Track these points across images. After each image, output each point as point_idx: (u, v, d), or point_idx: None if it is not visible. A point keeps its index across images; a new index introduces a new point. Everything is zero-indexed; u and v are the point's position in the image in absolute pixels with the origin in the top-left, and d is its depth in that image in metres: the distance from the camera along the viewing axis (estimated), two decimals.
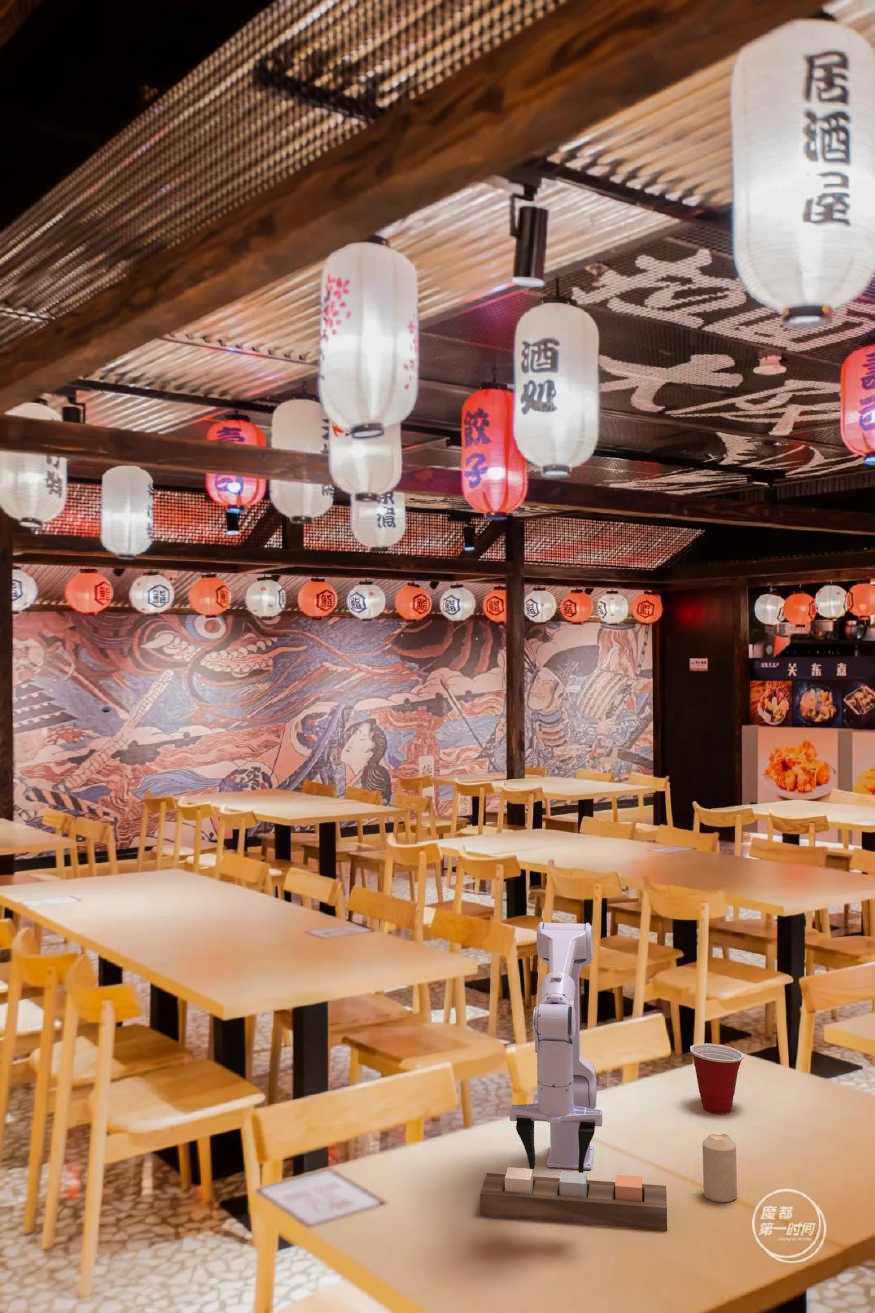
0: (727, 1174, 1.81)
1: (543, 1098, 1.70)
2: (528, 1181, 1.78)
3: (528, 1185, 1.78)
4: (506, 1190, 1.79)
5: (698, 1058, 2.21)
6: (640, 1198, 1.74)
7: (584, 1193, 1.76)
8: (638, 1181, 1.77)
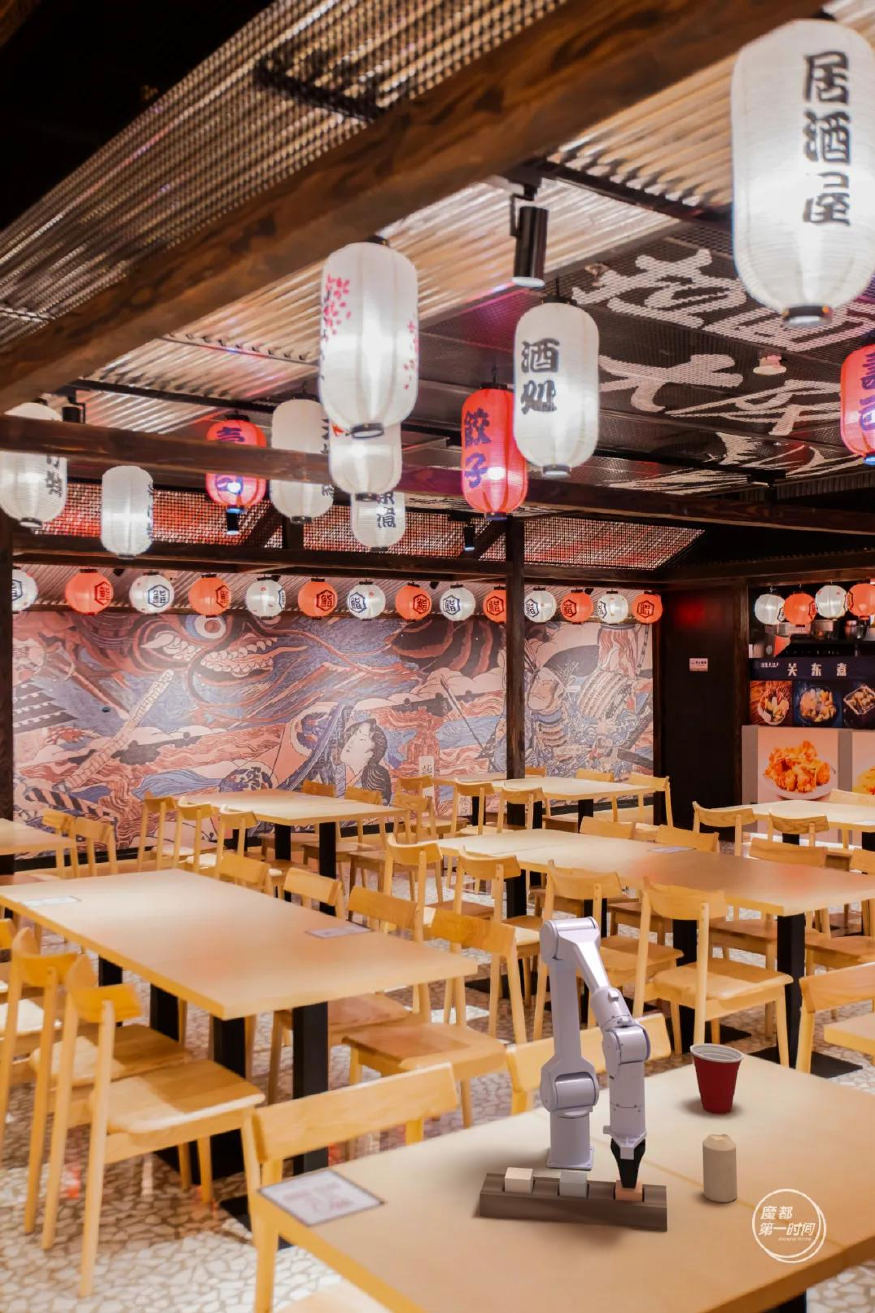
0: (727, 1174, 1.81)
1: None
2: (528, 1181, 1.78)
3: (528, 1185, 1.78)
4: (506, 1190, 1.79)
5: (698, 1058, 2.21)
6: None
7: (584, 1193, 1.76)
8: (638, 1186, 1.77)
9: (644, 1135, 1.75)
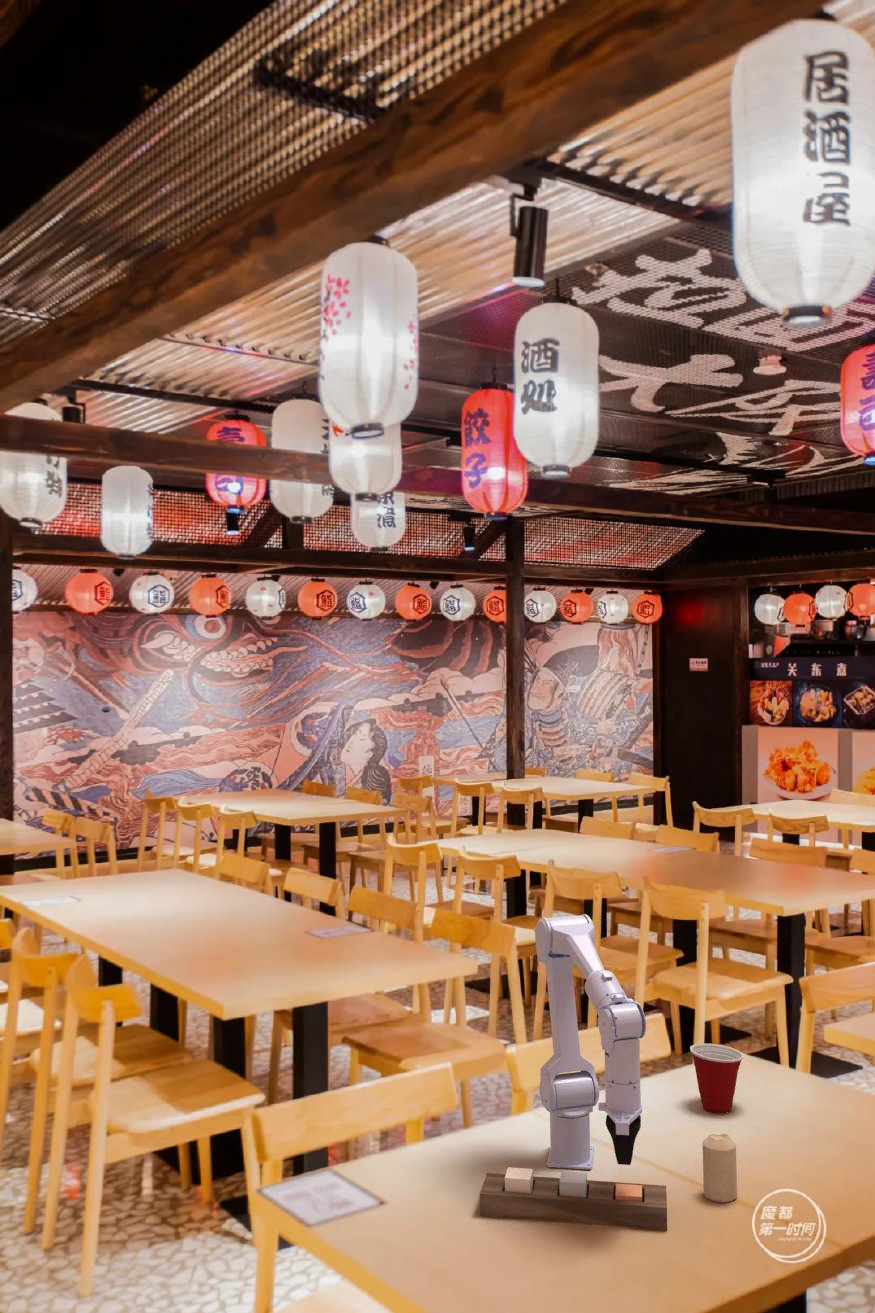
0: (727, 1174, 1.81)
1: None
2: (528, 1181, 1.78)
3: (528, 1185, 1.78)
4: (506, 1190, 1.79)
5: (698, 1058, 2.21)
6: None
7: (584, 1193, 1.76)
8: (638, 1189, 1.77)
9: (639, 1111, 1.76)
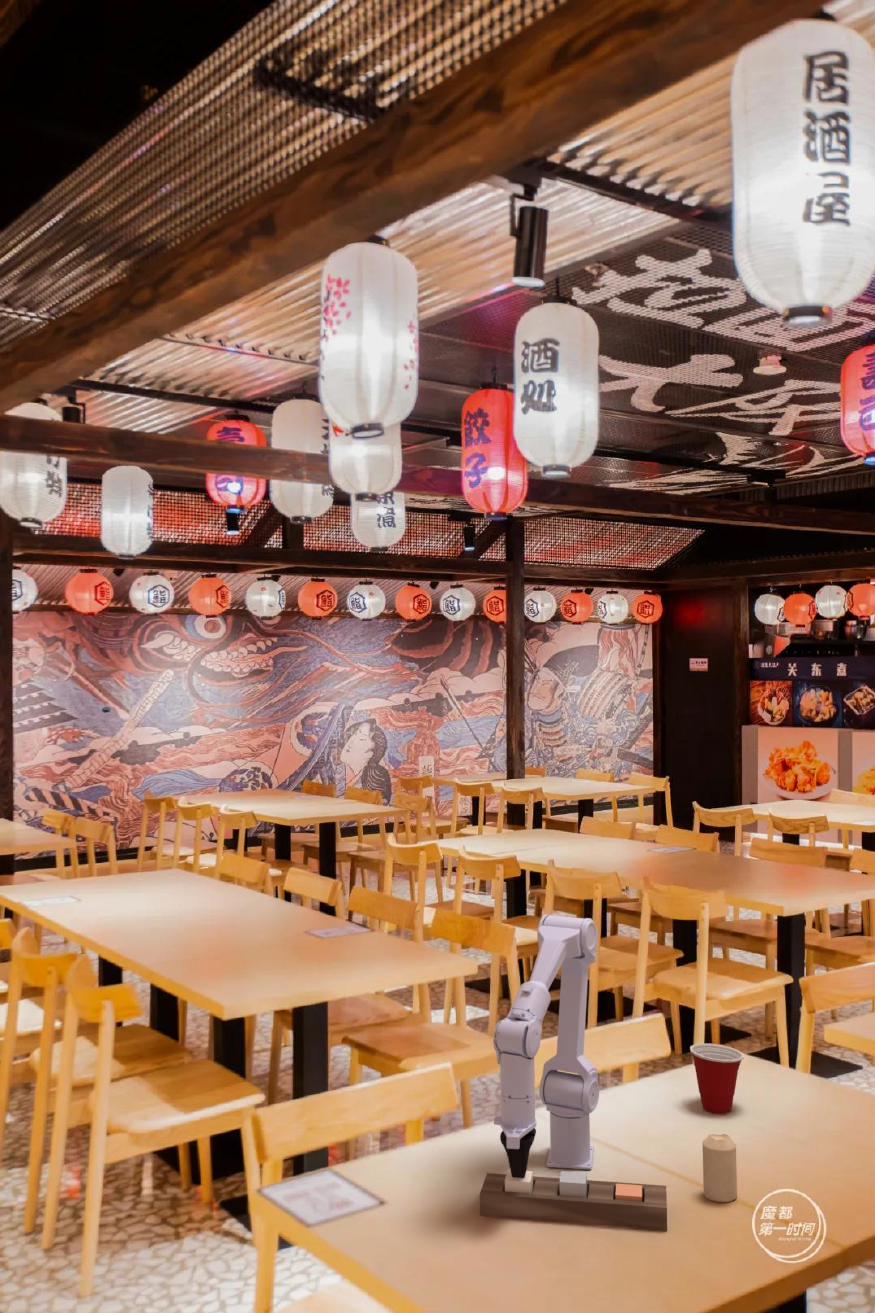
0: (727, 1174, 1.81)
1: None
2: (528, 1183, 1.78)
3: (528, 1187, 1.78)
4: None
5: (698, 1058, 2.21)
6: None
7: (584, 1193, 1.76)
8: (638, 1189, 1.77)
9: (533, 1126, 1.79)
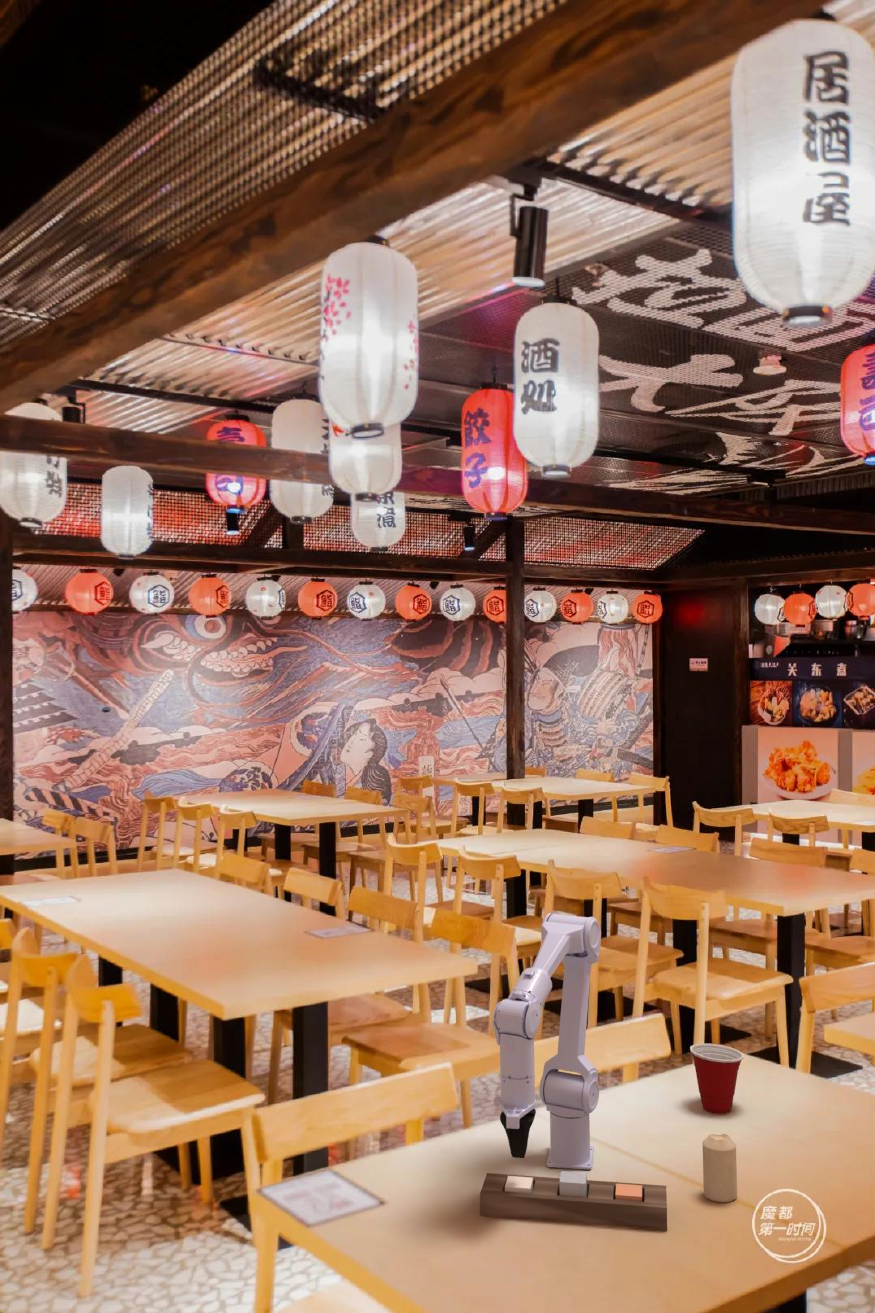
0: (727, 1174, 1.81)
1: None
2: (528, 1190, 1.78)
3: None
4: None
5: (698, 1058, 2.21)
6: None
7: (584, 1193, 1.76)
8: (638, 1189, 1.77)
9: (532, 1106, 1.79)
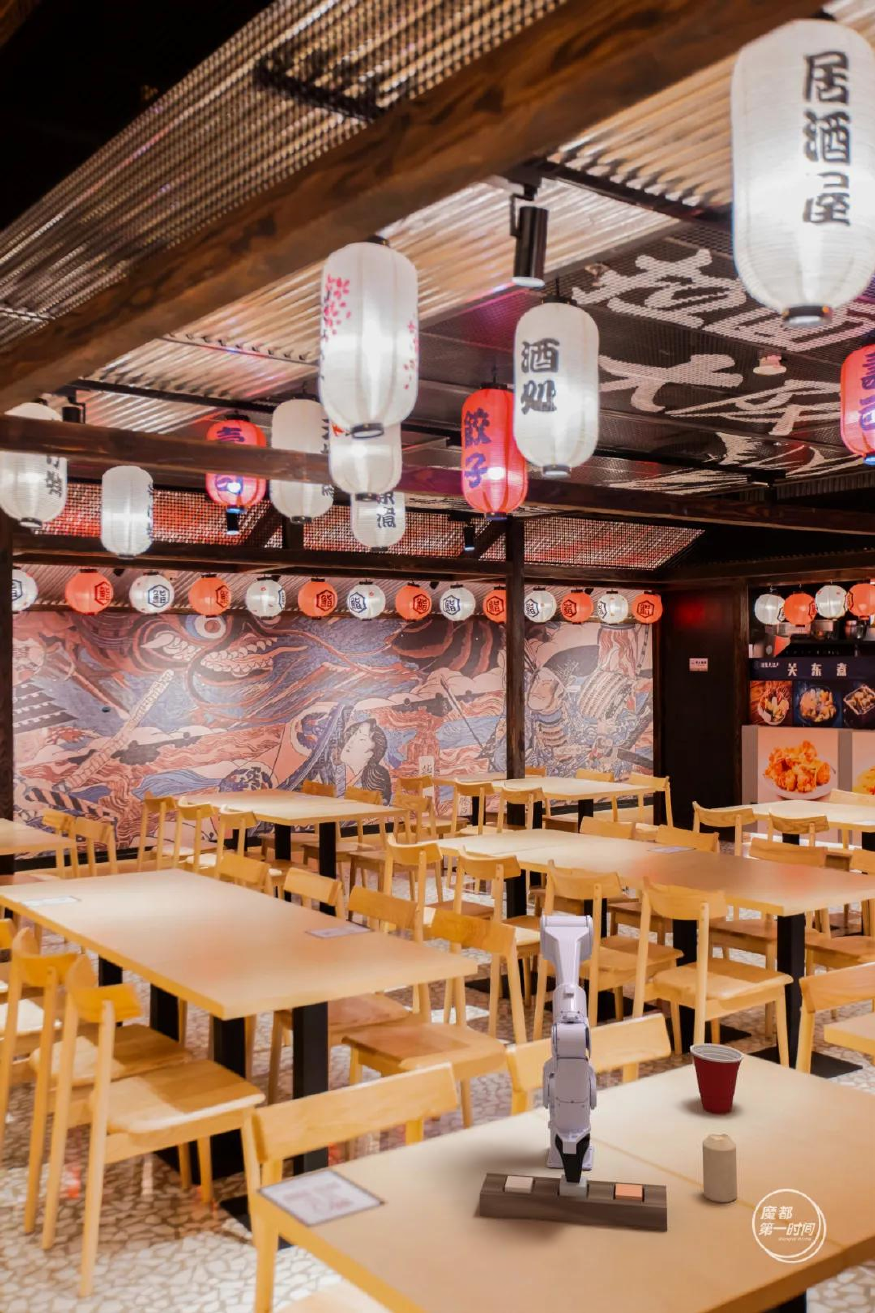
0: (727, 1174, 1.81)
1: None
2: (528, 1190, 1.78)
3: None
4: None
5: (698, 1058, 2.21)
6: None
7: (584, 1196, 1.76)
8: (638, 1189, 1.77)
9: (588, 1130, 1.77)
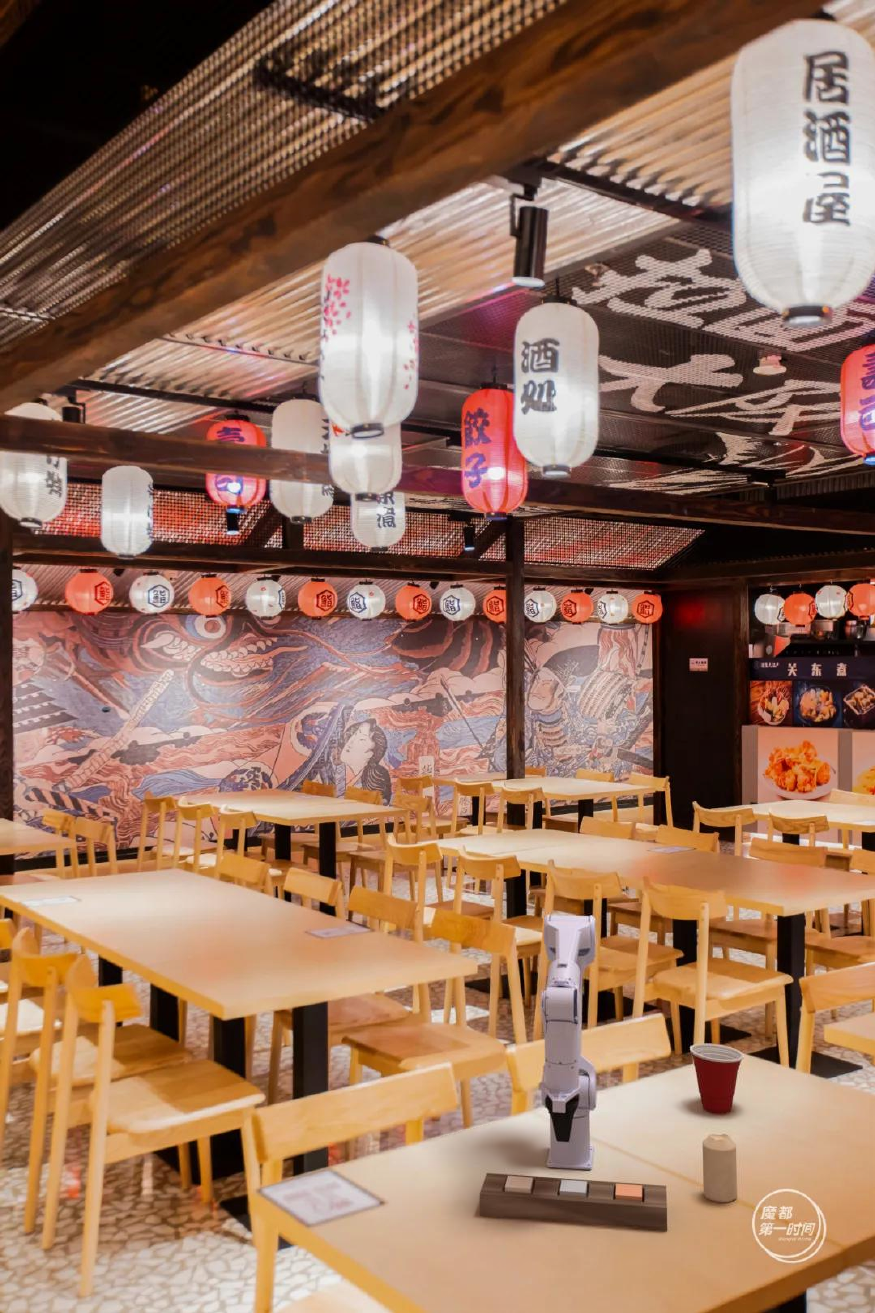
0: (727, 1174, 1.81)
1: None
2: (528, 1190, 1.78)
3: None
4: None
5: (698, 1058, 2.21)
6: None
7: None
8: (638, 1189, 1.77)
9: (577, 1091, 1.83)
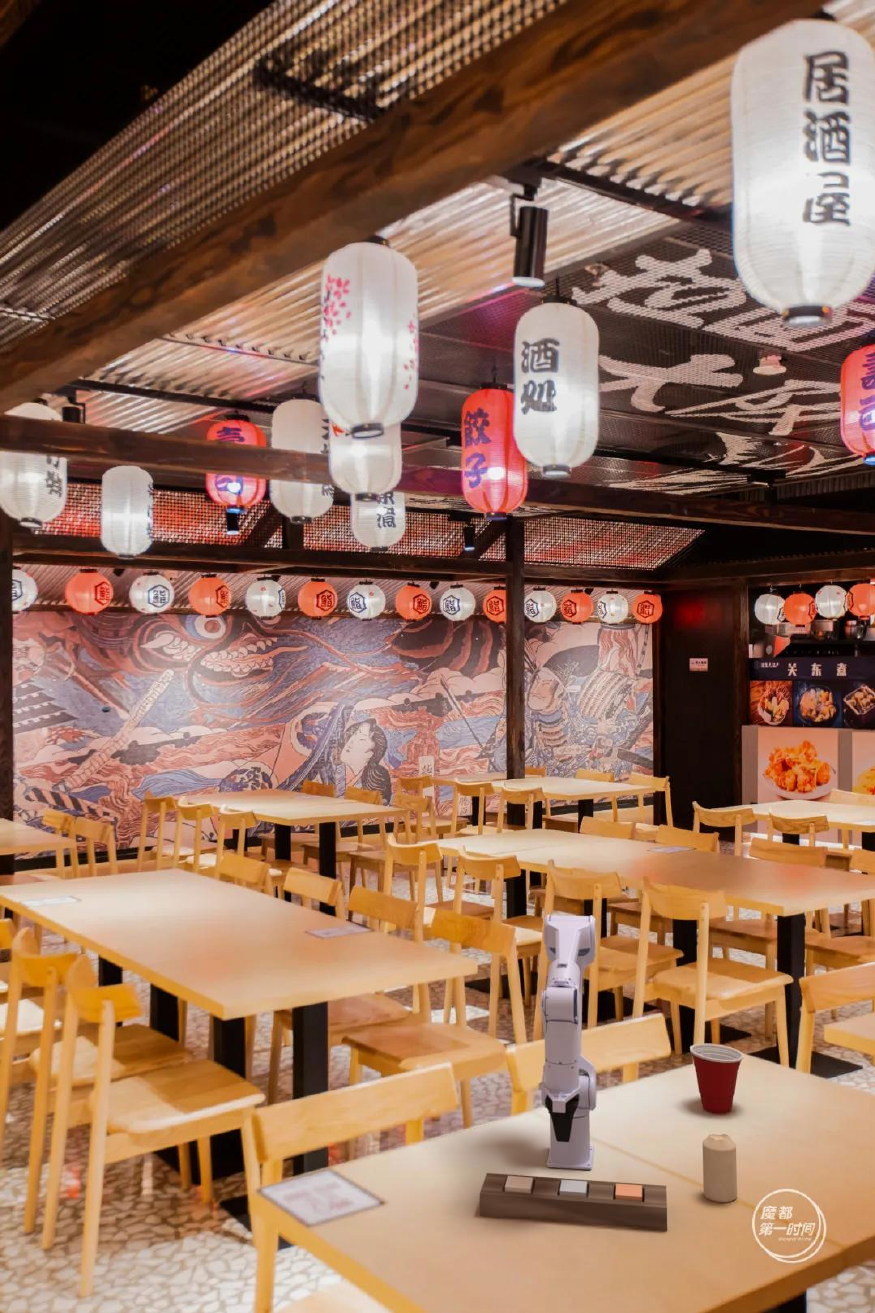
0: (727, 1174, 1.81)
1: None
2: (528, 1190, 1.78)
3: None
4: None
5: (698, 1058, 2.21)
6: None
7: None
8: (638, 1189, 1.77)
9: (577, 1091, 1.83)
